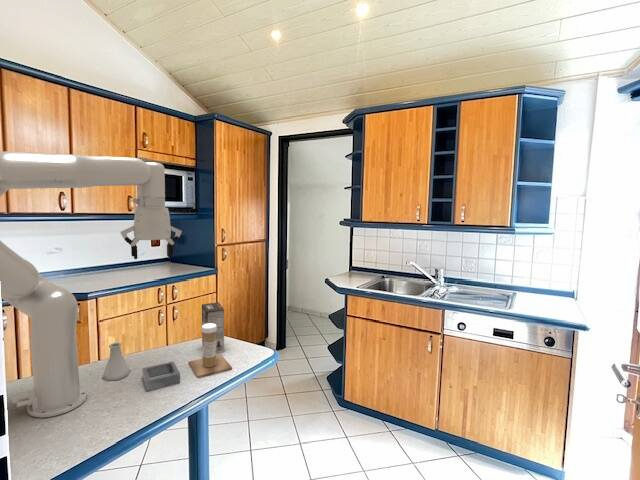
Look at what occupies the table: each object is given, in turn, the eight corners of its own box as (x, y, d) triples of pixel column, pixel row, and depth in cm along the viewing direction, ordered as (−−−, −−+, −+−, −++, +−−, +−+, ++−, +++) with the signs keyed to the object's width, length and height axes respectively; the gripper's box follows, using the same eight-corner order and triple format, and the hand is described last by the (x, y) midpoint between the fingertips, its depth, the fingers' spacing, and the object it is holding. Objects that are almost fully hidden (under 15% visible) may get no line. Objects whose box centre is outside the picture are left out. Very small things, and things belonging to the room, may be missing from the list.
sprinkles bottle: (205, 360, 118) (204, 322, 116) (218, 361, 117) (218, 322, 116) (199, 367, 113) (199, 327, 111) (213, 368, 113) (213, 328, 111)
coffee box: (201, 345, 131) (200, 303, 129) (218, 342, 134) (218, 301, 132) (206, 355, 123) (206, 311, 121) (225, 352, 127) (225, 308, 125)
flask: (134, 370, 112) (133, 340, 110) (119, 382, 105) (118, 350, 103) (113, 368, 112) (112, 338, 111) (97, 380, 105) (95, 348, 104)
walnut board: (197, 378, 108) (197, 376, 108) (188, 363, 117) (188, 361, 117) (232, 369, 114) (232, 367, 114) (221, 356, 123) (221, 354, 123)
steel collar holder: (146, 391, 100) (146, 381, 100) (142, 377, 108) (142, 368, 107) (180, 383, 105) (179, 373, 105) (173, 370, 113) (173, 361, 112)
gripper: (120, 202, 101) (122, 261, 103) (183, 204, 110) (184, 257, 112) (118, 201, 107) (120, 257, 109) (178, 203, 117) (179, 254, 119)
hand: (152, 257), depth 111 cm, fingers open, 9 cm apart
